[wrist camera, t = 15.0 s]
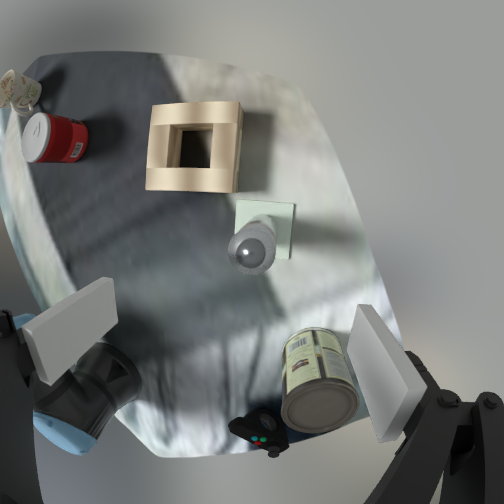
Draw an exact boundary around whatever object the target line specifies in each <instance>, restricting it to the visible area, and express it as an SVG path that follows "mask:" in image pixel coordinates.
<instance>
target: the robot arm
mask: <svg viewBox="0 0 504 504" xmlns="http://www.w3.org/2000/svg"><path fill="white" fill-rule="evenodd" d="M117 323H118V317H117V310H116V302H115V293H114V284H113V278H106V277H101V278H100V279H98V280H96V281H94V282H93V283H91V284H89V285H88V286H86V287H84V288H82V289H81V290H79V291H77V292H76V293H74V294H72V295H71V296H69V297H67V298H66V299H64V300H62V301H61V302H59V303H57V304H56V305H54V306H53V307H51V308H49V309H48V310H46V311H45V312H43V313H41V314H40V315H38V316H37V317H36V316H35V315H33V314H29V313H28V314H23V315H20V316H17V317H14V318H13V316H12V313H11V311H9V310H0V504H44V503H43V500H42V496H41V491H40V486H39V480H38V473H37V466H36V458H35V448H34V431H33V423H34V425H35V427H36V428H37V429H38V430H39V431H40V432H41V433H42V434H43V435H44V436H45V437H46V438H47V439H49V440H50V441H51V442H53V443H54V444H56V445H57V446H59V447H60V448H62V449H64V450H65V451H68V452H70V453H72V454H75V455H85V454H87V453H88V452H89V451H90V449H91V448H92V447H93V446H94V445H95V444H96V443H97V440H98V439H99V437H100V435H101V434H102V432H103V431H104V429H105V428H106V426H107V425H108V423H109V422H110V420H111V419H112V417H113V416H114V414H115V413H116V411H117V410H119V409H120V408H122V407H123V406H125V405H126V404H127V403H129V402H131V401H133V400H134V399H135V398H136V397H137V395H138V394H139V392H140V390H141V379H140V376H139V373H138V371H137V370H136V368H135V367H134V365H133V364H132V363H131V361H130V360H129V359H128V358H127V357H126V356H125V355H123V354H122V353H121V352H120V351H118V350H117V349H115V348H113V347H112V346H109V345H107V344H104V343H96V342H97V341H98V340H99V339H100V338H101V337H103V336H104V335H105V334H106V333H107V332H108V331H109V330H110V329H111V328H112V327H113V326H114V325H116V324H117ZM346 350H347V353H348V355H349V358H350V361H351V363H352V366H353V369H354V371H355V374H356V377H357V380H358V382H359V385H360V388H361V391H362V394H363V397H364V399H365V402H366V405H367V408H368V411H369V414H370V417H371V420H372V423H373V426H374V429H375V432H376V436H377V439H378V442H379V443H382V442H388V441H395V440H397V439H398V437H399V436H400V434H401V433H402V431H404V433H405V435H406V438H405V440H404V441H403V443H402V444H401V446H400V447H399V449H398V450H397V451H396V453H395V457H394V459H393V461H392V462H391V464H390V466H389V467H388V469H387V471H386V472H385V474H384V475H383V477H382V478H381V480H380V481H379V483H378V484H377V486H376V487H375V489H374V490H373V492H372V493H371V494H370V496H369V497H368V498H367V500H366V501H365V503H364V504H429V503H430V501H431V499H432V496H433V495H434V492H435V490H436V488H437V485H438V483H439V480H440V478H441V475H442V473H443V470H444V473H443V482H442V489H441V496H440V502H439V504H504V404H503V401H502V399H501V398H500V397H499V396H498V395H497V394H495V393H492V392H483V393H481V394H480V395H479V396H478V398H477V400H476V401H475V402H462V401H461V399H460V398H459V396H458V395H457V394H456V393H454V392H452V391H450V390H445V389H440V387H439V386H438V385H437V383H436V381H435V380H434V379H433V377H432V376H431V374H430V373H429V372H428V371H427V368H426V367H425V366H423V363H422V361H421V360H420V359H419V357H418V356H416V355H415V354H414V353H412V352H411V351H404V350H403V349H402V347H401V346H400V344H399V343H398V342H397V340H396V339H395V337H394V336H393V334H392V333H391V332H390V330H389V329H388V327H387V326H386V325H385V323H384V322H383V320H382V319H381V318H380V316H379V315H378V313H377V312H376V311H375V309H374V308H373V307H372V305H365V304H357V309H356V313H355V318H354V322H353V326H352V330H351V334H350V338H349V342H348V346H347V349H346ZM78 359H79V360H78ZM77 360H78V362H77V365H76V367H75V370H74V372H73V373H72V372H71V371H70V369H69V368H70V367H71V366H72V365H73V364H74V363H75V362H76V361H77ZM33 411H34V412H33Z"/></svg>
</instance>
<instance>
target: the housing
mask: <svg viewBox="0 0 504 504" xmlns="http://www.w3.org/2000/svg"><path fill="white" fill-rule="evenodd" d="M243 116H244V111H243V109H242V107H241V105H240V103H239V102H192V103H176V104H164V105H154V106H153V108H152V116H151V124H150V134H149V144H148V156H147V171H146V190H174V191H202V192H222V193H237V192H238V181H239V167H240V154H241V141H242V128H243ZM183 131H213V137H212V149H211V162H210V168H180V155H181V143H182V132H183Z"/></svg>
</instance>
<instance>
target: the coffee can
mask: <svg viewBox="0 0 504 504" xmlns="http://www.w3.org/2000/svg"><path fill="white" fill-rule="evenodd" d="M358 407H359V396H358V393H357V392H356V390H355V387H354V384H353V381H352V378H351V375H350V372H349V370H348V367H347V364H346V361H345V358H344V355H343V352H342V350H341V346H340V342H339V340H338V339H337V337H336V336H335V335H334V334H333V333H332V332H330V331H328V330H326V329H322V328H306V329H303V330H300V331H298V332H296V333H295V334H293V335H292V336H291V337H289V338H288V340H287V341H286V342H285V344H284V346H283V349H282V406H281V416H282V419H283V421H284V422H285V423H286V425H288V426H289V427H290V428H292V429H294V430H297V431H300V432H304V433H322V432H327V431H330V430H333V429H336V428H338V427H340V426H342V425H344V424H345V423H346V422H348V421H349V420H350V419H351V418H352V417H353V416H354V415H355V413H356V412H357V410H358Z"/></svg>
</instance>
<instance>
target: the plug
mask: <svg viewBox="0 0 504 504" xmlns="http://www.w3.org/2000/svg"><path fill="white" fill-rule="evenodd" d="M277 233H278V227H277V224H276V222H275V220H274V219H273V218H272V217H270V216H269V215H266V214H259V215H256V216H254V217H252V218H251V219H250V220H249V221H248V222H247V223H246V224H245V225H244V226H243V227H242V228H241V229H240V230H239V231H238V232H237V233H236V234H235V235H234V236H233V238H232V239H231V241H230V243H229V247H228V255H229V259H230V261H231V263H232V264H233V266H234V267H235V268H236V269H237V270H239V271H240V272H242V273H245V274H249V275H256V274H260V273H263V272H265V271H266V270H267V269H269V268H270V266H271V265H272V264H273V262H274V259H275V255H276V245H277Z"/></svg>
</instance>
